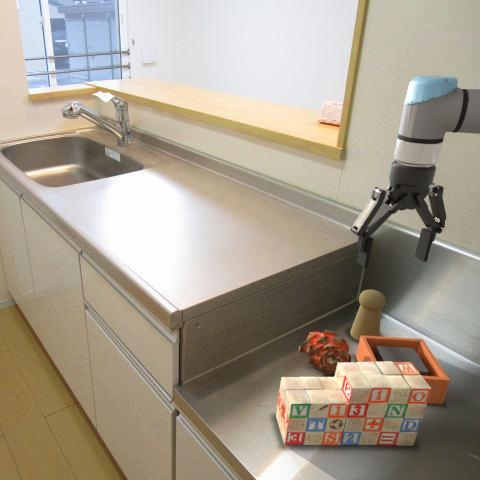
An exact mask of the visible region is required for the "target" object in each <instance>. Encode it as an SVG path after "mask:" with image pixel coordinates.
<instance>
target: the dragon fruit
mask: <svg viewBox="0 0 480 480" xmlns="http://www.w3.org/2000/svg"><path fill="white" fill-rule="evenodd" d="M306 336H307V337H306V340H305V341H302V344H306V345H299V346H298V352H299V353H301V354H306V355H308V356H310V358H309V360H308V364H309V365H310V366H311V368H313V369H314V368H316V369H319V371H320V372H322V373H323V374H325V375H332V374H333V375H335V373H336V368H337V363H346V362H352V355H351V353H349V352H350V346H349V344H348V342H347V340H346V339H345V338H340V337H339V336H338V335H337V333H335V332H333V331H332V330H329V329H325V330H324V331H323V332H322V331H321V332H320V331H309V332H308V333H307V334H306Z"/></svg>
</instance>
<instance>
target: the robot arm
mask: <svg viewBox="0 0 480 480" xmlns="http://www.w3.org/2000/svg"><path fill="white" fill-rule="evenodd" d="M458 83H459V80H458V78H457V77H455V76H452V75H435V74H433V75H431V74H430V75H417V76H415V77H413V78H412V79H411V80H410V82H409V83H408V88H407V93H406V95H405V100H404V101H403V108H402V114H401V118H400V123H399V127H398V132H397V133H398V134H397V139H396V142H395V143H396V144H395V146H394V153H393V159H394V160H393V161H392V162H391V166H390V170H389V174H388V175H389V176H388V180H389V185H388V187H387V188H380V187H378V186H375V187H373V189H372V192H371V195H370V197H369V199H368V200H367V202H366V204H365V206H364V207H363V208H362V210H361V211H360V213H359V215H358V216H357V218H356V219H355V220H354V222H353V224H352V226H351V227H350V232H352V233H353V234H355V236H358V238H357V243H356V250H357V251H358V253H357V259H356V263H357V264H359V266H361V267H362V268H363V269H367V268H369V262H370V258H371V253H372V248H373V243H374V238H373V237H372V235H373V234H375V232H376V231H378V229H380V227H381V226H382V225H383V224H384V223H385V222H386V221H387V220H388V219H389V218H390V217H391V216H392V215H394V214H396V213H398V211H405V210H411V211H412V210H413V211H414V210H415V211H416V213H417V215H418V216H419V218H420V220H421V221H422V223H423V225H424V226H425V227H423V228H421V229H420V234H419V238H418V241H417V244H416V245H417V246H416V250H415V253H414V257H415V258H417V259H418V260H420V261H422V262H423V263H426V262H428V259H429V255H430V251H431V247H432V245H431V244H432V242H433V241H434V242H435V240H436V236H437V234H438V235H439V234H442V232H443V229H444V227H445V226H444V225H445V220H446V217H447V211H446V207H445V203H444V202H445V201H444V191H445V188H444V186H443V185H440V184H437V183H435V182H434V179H435V176H436V172H437V166H436V164H438V162H439V159H440V155H441V150H442V147H443V143H444V139H445V135H446V133H454V134H456V133H458V134H459V133H461V134H474V135H475V134H476V135H477V134H478V135H480V89H461V88H458V85H459V84H458ZM426 197H428V202H429V205H428V203H427V202H426V199H425V198H426ZM429 206H430V209H429ZM435 217H437V218H439V219H440V222H439V223H438V222H436V221H435V219H434V218H435ZM447 218H448V217H447ZM441 227H442V228H441Z"/></svg>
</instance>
